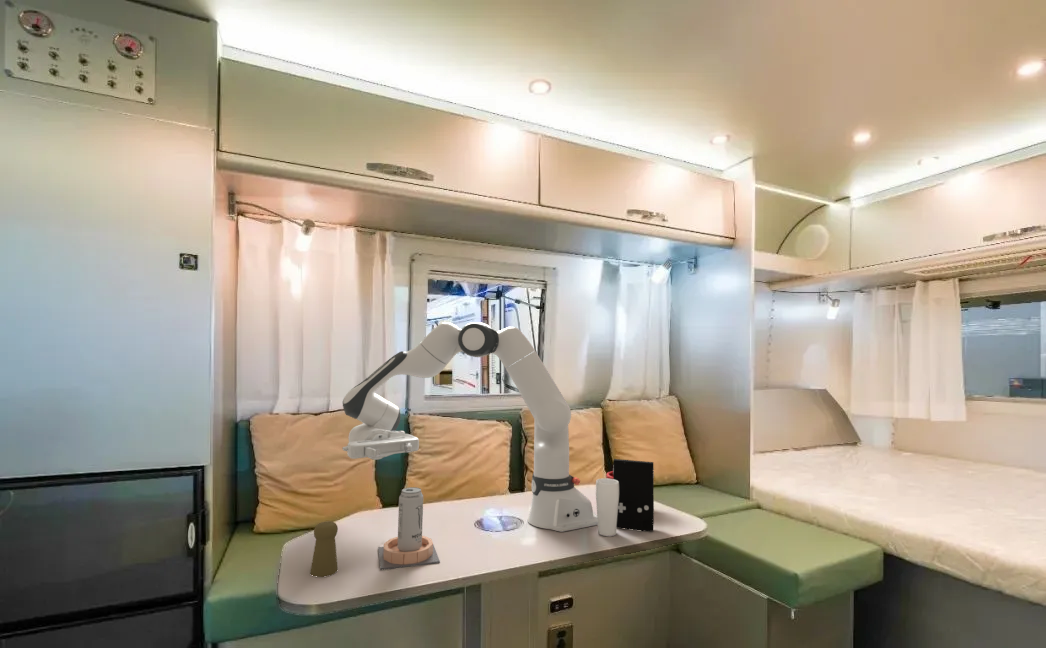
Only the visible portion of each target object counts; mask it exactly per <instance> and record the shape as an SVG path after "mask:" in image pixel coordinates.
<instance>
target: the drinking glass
mask: <svg viewBox="0 0 1046 648" xmlns="http://www.w3.org/2000/svg"><path fill="white" fill-rule="evenodd" d="M595 504H596V515H597V519H598V525H597V533H598V534H599V535H600V536H604V537H614V536H616V534H617V532H618V531H617V528H618V527H617V515H618V504H619V481H617V480H614V479H608V478H606V477H603V478H597V479H596V480H595Z"/></svg>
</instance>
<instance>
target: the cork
mask: <svg viewBox="0 0 1046 648" xmlns="http://www.w3.org/2000/svg"><path fill="white" fill-rule="evenodd" d="M338 531H339V528H338V524H337V522H334V521H321V522H320V523H317V524H316V526H315V527H314V530H313V537H314V538H315V543H314V548H313V555H312V560H311V566H310V571H309V574H311V575H313V576H317V577H316V578H325V577H324V576H326V577H329V575H330V576H332V574H333V575H335V574H336V573H337V572H338V571H337V570H339V568H338V557H337V555H338V554H337V546H336V545H337V544H336V536H337V534H338ZM335 572H336V573H335ZM311 575H310V576H311ZM313 576H312V577H313Z"/></svg>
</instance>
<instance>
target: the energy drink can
mask: <svg viewBox="0 0 1046 648" xmlns="http://www.w3.org/2000/svg"><path fill="white" fill-rule="evenodd" d="M423 513H424V494H423V493H422V489H421V488H419V487H414V486H413V487H412V486H411V487H410V486H409V487H404V488H403V489H401V493H400V494H399V497H398V515H397V516H398V519H397V520H398V522H397V525H398V526H397V537H398V545H397V548H398V549H399V551H400V552H410V551H417V550H419V549H420V548H421V547H422V536H423V523H424V522H423V520H424V519H423Z"/></svg>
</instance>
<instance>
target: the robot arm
mask: <svg viewBox="0 0 1046 648" xmlns="http://www.w3.org/2000/svg"><path fill="white" fill-rule="evenodd" d="M461 352H463V353H464V354H465V355H467V356H470V357H472V358H473V357H474V358H483V357H486V356H488V355H491V354H494V355H495V356H496V357H498V358H499V361H500V362H501V364H502V365H503V367H504V368H505V370H506V372H507V374H508V375H509V376H510V379H511V380H512V382H513V383H514V385H515V387H516V388H517V390H518V391H519V394H520V396H521V398H522V399H523V401H524V403H525V404H526V407H527V408H528V410H529V412H530V413H531V415H532V417H533V419H534V424H533V425H534V431H533V432H534V434H533V438H534V442H533V474H532V477H531V492H532V498H531V504H530V509H529V514H528V518H527V522H528V524H529V525H532V526H533V527H537V528H541V529H546V530H552V531H557V532H561V533H562V532H567V531H572V530H578V529H583V528H588V527H592V526H598V519H597V513H595V512H594V510H593V505H592V502H591V500H590V499H589V498H588V497H587V496H586V495H585V494H584V493H583V492H581V491H580V490H579V489H577V488H576V487H575V485H576V486H579V485H580V484H581V480H580V478H578V477H577V476H575V477H574V476H573V475H571V474H570V439H569V437H570V433H569V425H570V423H571V419H572V410H571V407H570V405H569V404H568V402H567V401H566V398H565V397H564V395H563V394H562V392H561V390H560V389H559V387H558V386H557V384H556V383H555V381H554V379H553V378H552V376H551V374H550V372H549V371H548V370H547V368H546V366H545V364H544V363H543V361H542V360H541V358H540V356H539V354H538V352H537V351H536V349H535V348H534V347H533V345H532V343H531V342H530V341H529V339H528V338H527V336H525V334H524V333H523V332H522V331H521V329H519V328H517V327H515V326H508V327H505V328H502V329H501V330H495V329H493V328H492V327H491V326H490V325H488V324H486V323H485V322H479V321H473V322H468V323H467V324H465V325H464V326H462V328H459V327H458V326H457V325H455V324H454V323H451V322H446V321H444V322H441V323H439V324H438V325H437V326H436V327H435V328H434V329H432V330H431V331H430V332H428V334H427V335H426V336H425V337H424V338H423V339H422V340H421V341H420V342H419V343H418V344H417V345H416V346H415V347H414V348H411V349H409V350H407V351H399V352H397V353H395V354H394V355H393V356H392V357H389V359H388V360H387V361H385V362H384V363H383V364H382V365H380V367H379V366H378V368H377V369H375V371H373V372H372V373H371V374H369V376H367V377H366V378H365V379H364V380H362V381H361V382H359V383H358V384H357V385H355V386H354V387H353V388H351V389H350V390H349V391H348V392H347V393H346V394H345V396H344V397H343V399H342V408H343V411H344V414H345V415H346V416H348V417H350V418H352V419H354V420H357V421H359V422H361V423H360V424H359V425H355V426H354V427H352V429H351V430H349V434H348V442H347V445H345V446H342V451H344V452H347V453H346V454H347V457H349V459H353V460H355V459H365V458H368V459H371V460H381V459H383V458H386V457H389V456H392V455H397V454H402V453H412V452H418V450H419V448H420V439H419V437H417V436H414V435H412V434H409V433H406V432H405V431H404V430H397V429H398V427H399V425H400V422H401V411H400V407H399V406H398V405H396V404H394V403H393V402H391V401H389V400H388V399H386V398H384V397H383V396H381V395H379V394H378V393H376V391H377V390H378V389H379V388H381V387H382V386H383V385H384V384H385V383H387V381H389V380H390V379H391V378H393V377H395V376H401V375H403V376H411V377H416V378H422V379H429V378H433V377H436V376H437V375H439V374H440V373H441V372H443V370H444V369H445V367H447V365H448V364H449V363H450V362H451V360H453V358H454V357H455V356H457V354H459V353H461Z"/></svg>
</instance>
